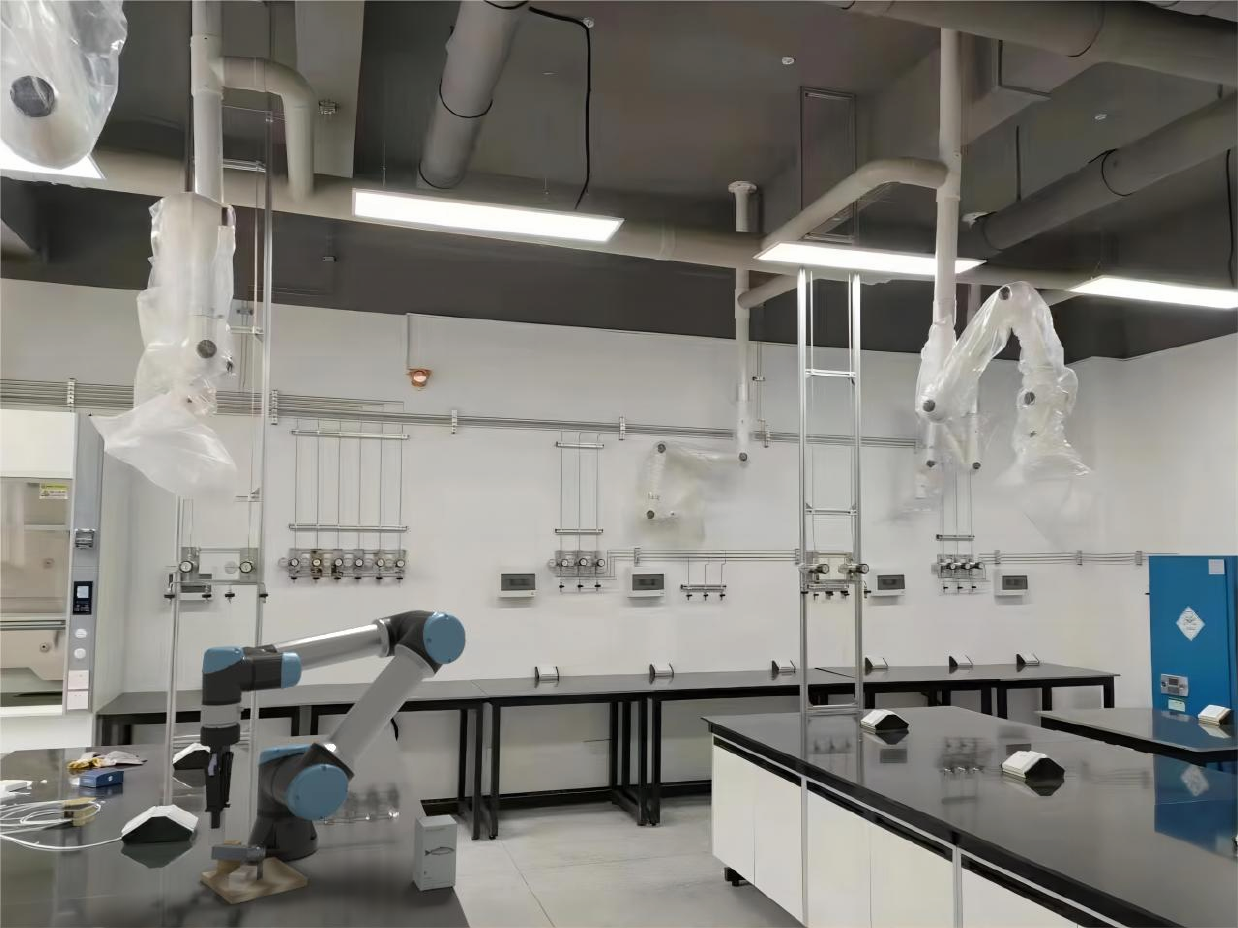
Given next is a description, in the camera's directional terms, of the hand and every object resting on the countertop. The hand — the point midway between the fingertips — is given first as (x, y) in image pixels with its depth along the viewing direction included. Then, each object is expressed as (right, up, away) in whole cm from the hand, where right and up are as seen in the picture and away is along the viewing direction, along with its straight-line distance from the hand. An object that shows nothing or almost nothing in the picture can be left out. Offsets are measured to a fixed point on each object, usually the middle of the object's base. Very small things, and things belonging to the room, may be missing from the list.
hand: (216, 843), depth 186 cm
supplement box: (+43, -9, +2) cm, 44 cm away
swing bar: (+4, -4, +1) cm, 6 cm away
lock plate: (+7, -9, +2) cm, 11 cm away
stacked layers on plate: (-53, -13, +41) cm, 68 cm away
